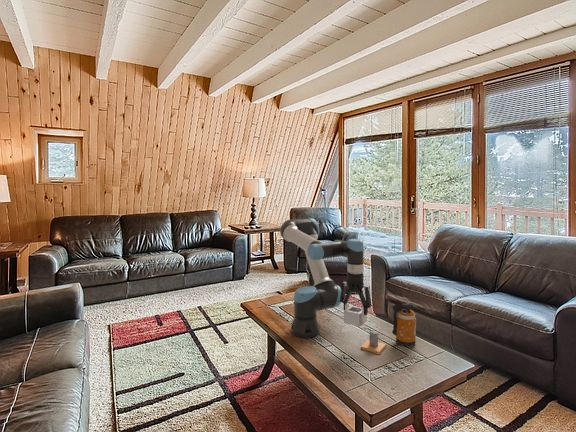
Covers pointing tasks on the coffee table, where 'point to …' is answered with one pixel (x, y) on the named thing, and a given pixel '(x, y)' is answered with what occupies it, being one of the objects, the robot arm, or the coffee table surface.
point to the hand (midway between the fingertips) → (355, 318)
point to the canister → (404, 324)
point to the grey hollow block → (353, 316)
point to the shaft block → (373, 344)
